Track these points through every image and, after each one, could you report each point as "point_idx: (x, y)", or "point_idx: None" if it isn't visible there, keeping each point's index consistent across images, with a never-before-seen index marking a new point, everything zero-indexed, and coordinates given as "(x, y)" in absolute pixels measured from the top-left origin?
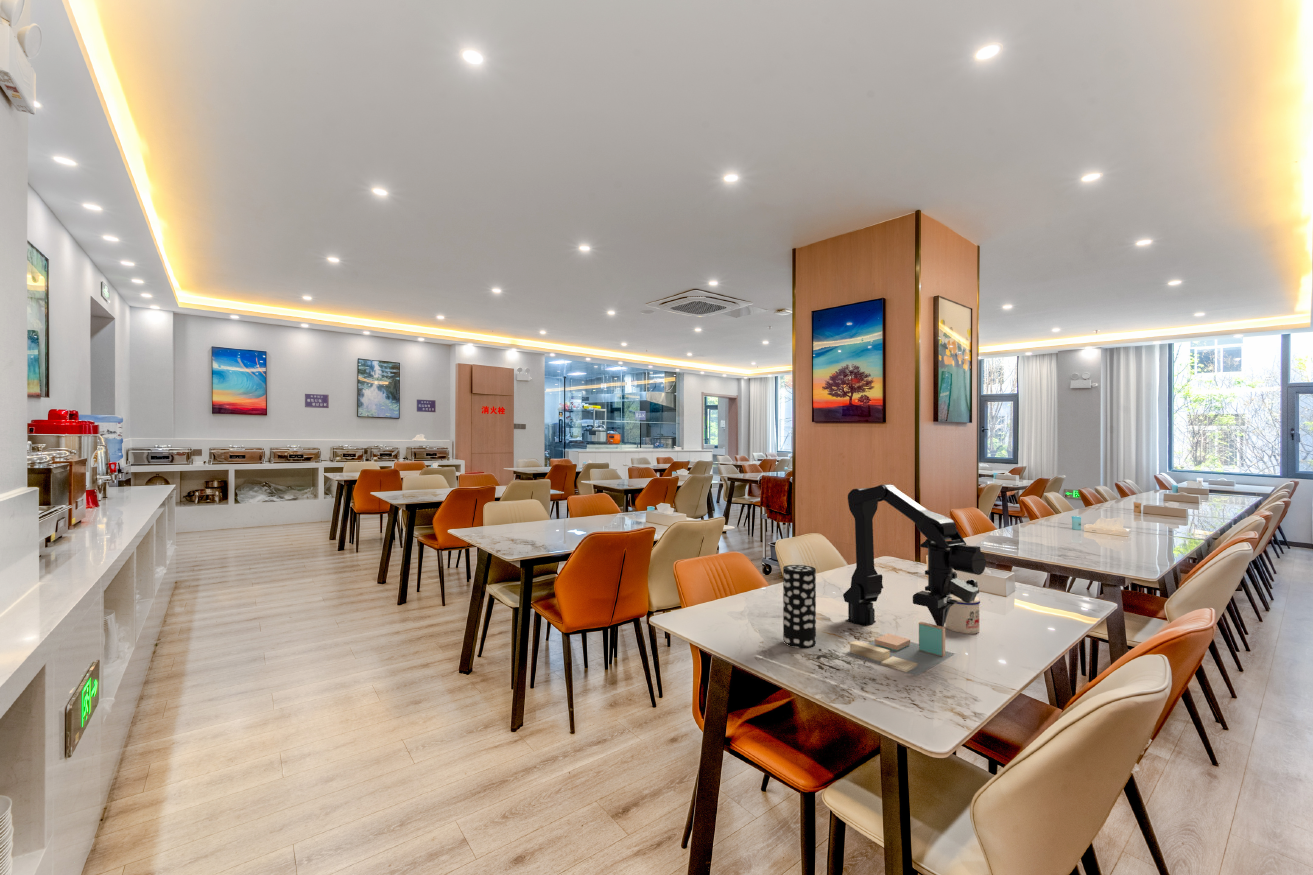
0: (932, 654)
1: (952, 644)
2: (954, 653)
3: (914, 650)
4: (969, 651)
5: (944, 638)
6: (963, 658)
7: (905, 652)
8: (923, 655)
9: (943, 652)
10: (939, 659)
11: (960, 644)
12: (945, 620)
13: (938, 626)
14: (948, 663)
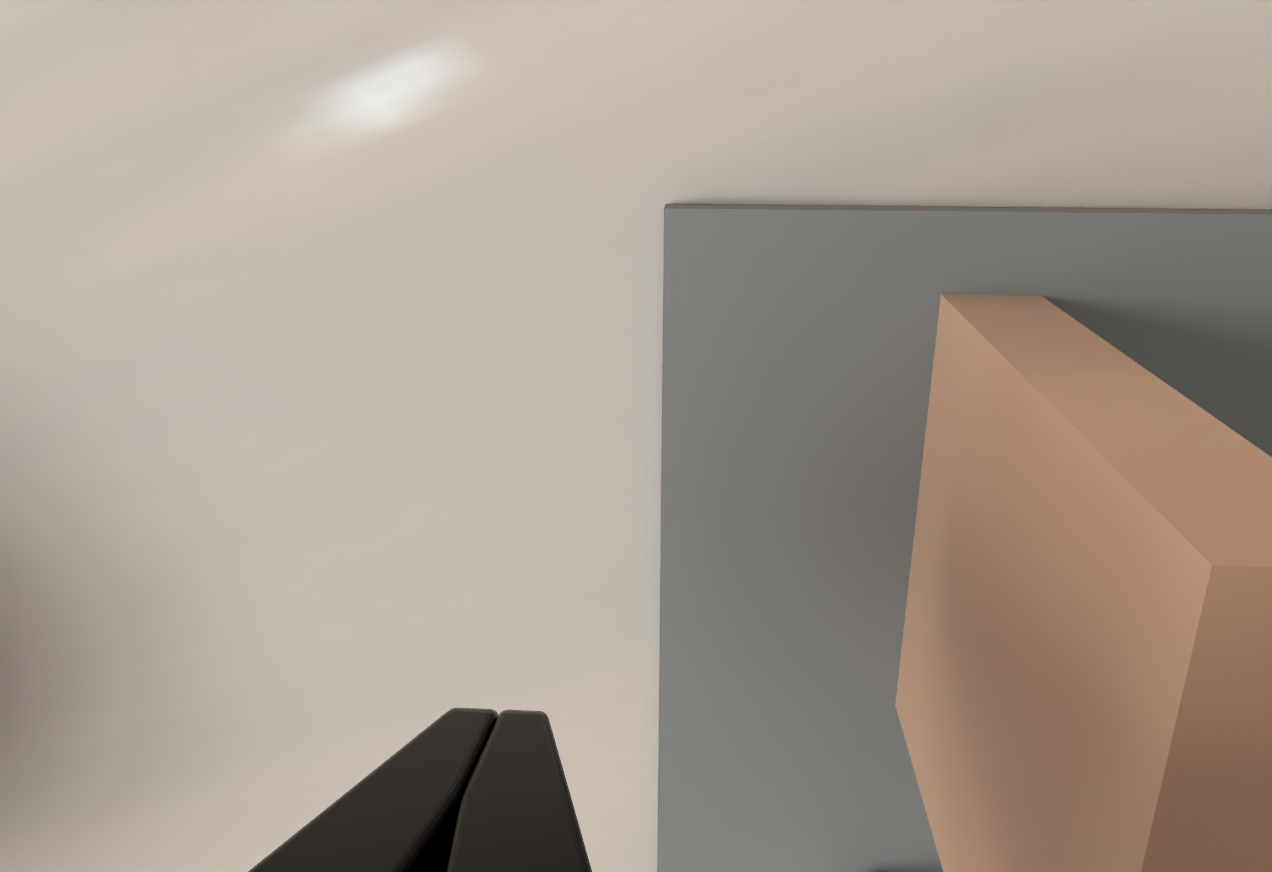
0: None
1: (134, 461)
2: (668, 223)
3: None
4: (220, 98)
5: (1116, 411)
6: (723, 15)
7: None
8: None
9: (1054, 317)
10: (1249, 289)
11: (6, 367)
12: (324, 830)
13: (1265, 767)
14: (1248, 111)
